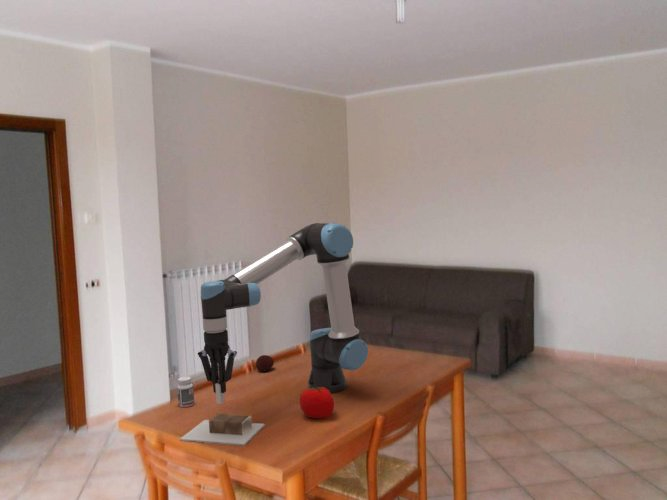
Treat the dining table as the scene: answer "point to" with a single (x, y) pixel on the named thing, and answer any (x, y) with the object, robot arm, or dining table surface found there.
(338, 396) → the dining table surface
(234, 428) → the slab
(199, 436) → the mat
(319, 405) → the tomato
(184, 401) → the pill bottle
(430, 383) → the dining table surface
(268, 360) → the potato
